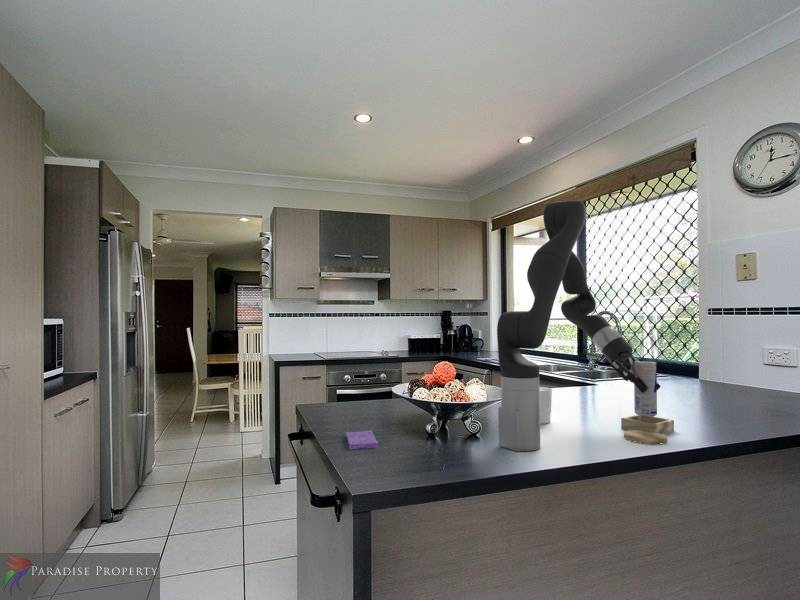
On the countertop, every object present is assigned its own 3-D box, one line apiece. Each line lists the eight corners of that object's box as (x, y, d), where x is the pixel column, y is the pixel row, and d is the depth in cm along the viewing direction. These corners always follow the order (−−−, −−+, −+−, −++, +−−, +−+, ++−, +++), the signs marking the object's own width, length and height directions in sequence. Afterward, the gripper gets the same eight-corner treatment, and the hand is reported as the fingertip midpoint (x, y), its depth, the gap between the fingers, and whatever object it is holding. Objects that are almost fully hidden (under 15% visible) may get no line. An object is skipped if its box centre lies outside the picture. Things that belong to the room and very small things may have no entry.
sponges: (349, 451, 113) (349, 443, 113) (345, 438, 126) (345, 431, 126) (378, 449, 115) (378, 442, 115) (371, 436, 127) (371, 429, 127)
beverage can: (661, 417, 129) (660, 362, 129) (640, 417, 129) (640, 362, 129) (650, 413, 134) (650, 360, 135) (630, 412, 134) (630, 360, 135)
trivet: (653, 446, 115) (653, 442, 115) (615, 437, 123) (615, 433, 123) (674, 440, 120) (674, 436, 120) (637, 432, 129) (637, 428, 129)
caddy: (655, 435, 125) (654, 424, 125) (621, 428, 133) (621, 418, 133) (674, 431, 130) (673, 420, 130) (640, 424, 138) (640, 414, 138)
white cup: (546, 425, 137) (546, 391, 137) (521, 422, 142) (520, 388, 142) (555, 420, 143) (555, 388, 143) (531, 417, 148) (530, 385, 148)
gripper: (605, 336, 135) (646, 383, 124) (633, 335, 143) (675, 379, 132) (589, 353, 139) (628, 400, 128) (617, 352, 147) (656, 396, 136)
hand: (651, 389), depth 130 cm, fingers closed on beverage can, 5 cm apart
